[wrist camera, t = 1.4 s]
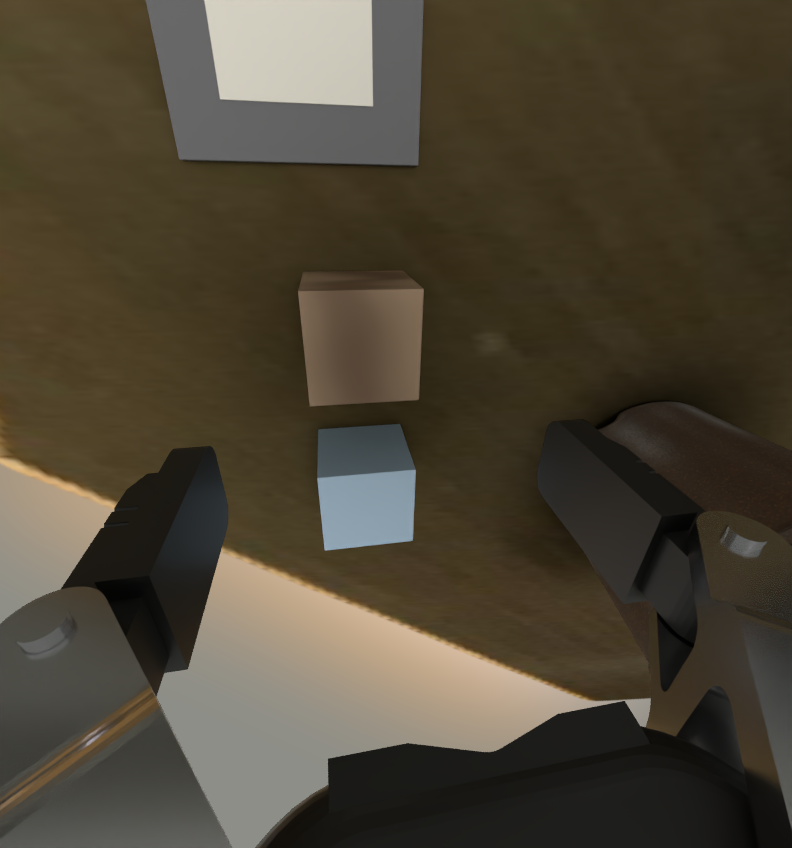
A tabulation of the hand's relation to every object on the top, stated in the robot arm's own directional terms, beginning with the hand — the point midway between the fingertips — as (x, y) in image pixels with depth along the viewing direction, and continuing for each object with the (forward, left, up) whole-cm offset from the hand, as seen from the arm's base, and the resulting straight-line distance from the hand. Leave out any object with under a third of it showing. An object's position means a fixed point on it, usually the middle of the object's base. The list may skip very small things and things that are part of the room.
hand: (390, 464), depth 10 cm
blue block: (0, +9, -14) cm, 16 cm away
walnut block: (0, 0, -14) cm, 14 cm away
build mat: (+2, -12, -14) cm, 18 cm away
